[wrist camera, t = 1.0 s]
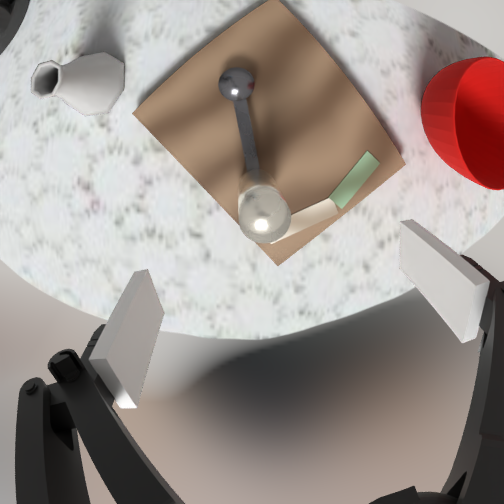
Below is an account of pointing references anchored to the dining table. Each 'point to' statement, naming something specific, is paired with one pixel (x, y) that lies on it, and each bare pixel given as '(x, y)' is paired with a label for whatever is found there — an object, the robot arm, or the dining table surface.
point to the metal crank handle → (254, 169)
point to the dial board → (274, 124)
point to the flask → (82, 82)
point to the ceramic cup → (468, 119)
